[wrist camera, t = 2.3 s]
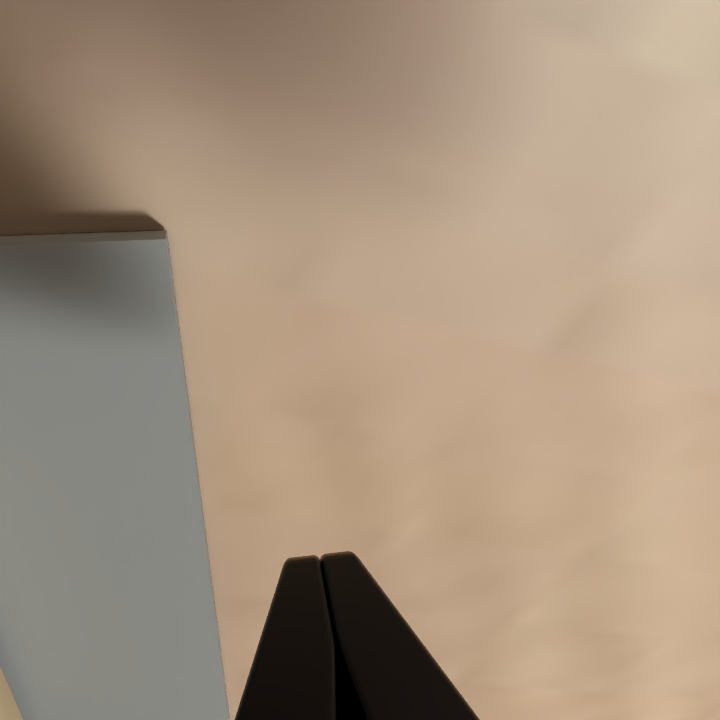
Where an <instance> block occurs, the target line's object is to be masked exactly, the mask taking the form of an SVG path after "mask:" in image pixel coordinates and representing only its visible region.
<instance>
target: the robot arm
mask: <svg viewBox="0 0 720 720" xmlns="http://www.w3.org/2000/svg"><path fill="white" fill-rule="evenodd" d="M235 720H480V719H479V718H478V717H477V715H476V714H475V713H474V711H473V710H472V709H471V707H470V706H469V705H468V703H467V702H466V701H465V699H464V698H463V697H462V695H461V694H460V693H459V691H458V690H457V689H456V687H455V686H454V685H453V683H452V682H451V681H450V679H449V678H448V677H447V675H446V674H445V673H444V671H443V670H442V669H441V667H440V666H439V665H438V663H437V662H436V661H435V659H434V658H433V657H432V655H431V654H430V653H429V651H428V650H427V649H426V647H425V646H424V645H423V643H422V642H421V641H420V639H419V638H418V637H417V635H416V634H415V633H414V631H413V630H412V629H411V627H410V626H409V625H408V623H407V622H406V621H405V619H404V618H403V617H402V615H401V614H400V613H399V611H398V610H397V609H396V607H395V606H394V605H393V603H392V602H391V601H390V599H389V598H388V597H387V595H386V594H385V593H384V591H383V590H382V589H381V587H380V586H379V585H378V583H377V582H376V581H375V579H374V578H373V577H372V575H371V574H370V573H369V571H368V570H367V569H366V567H365V566H364V565H363V563H362V562H361V561H360V559H359V558H358V557H357V556H356V555H355V554H354V553H353V552H349V551H346V552H337V553H329V554H324V555H323V556H321V558H320V559H319V558H318V557H317V556H315V555H311V556H302V557H293V558H289V559H287V560H286V561H285V563H284V565H283V568H282V572H281V575H280V578H279V581H278V584H277V587H276V591H275V594H274V597H273V600H272V603H271V606H270V610H269V613H268V616H267V619H266V622H265V625H264V629H263V632H262V635H261V638H260V641H259V644H258V648H257V651H256V654H255V657H254V660H253V663H252V667H251V670H250V673H249V676H248V679H247V682H246V686H245V689H244V692H243V695H242V698H241V701H240V705H239V708H238V711H237V714H236V717H235Z"/></svg>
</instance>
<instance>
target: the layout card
mask: <svg viewBox="0 0 720 720" xmlns="http://www.w3.org/2000/svg"><path fill="white" fill-rule="evenodd" d="M0 667H1V670H2V672H3V674H4V677H5V679H6V681H7V683H8V686H9V688H10V690H11V693H12V695H13V697H14V700H15V702H16V704H17V707H18V709H19V711H20V714H21V716H22V718H23V720H230V718H229V711H228V703H227V695H226V687H225V680H224V672H223V664H222V656H221V648H220V641H219V633H218V625H217V617H216V610H215V602H214V594H213V586H212V578H211V571H210V563H209V555H208V547H207V539H206V532H205V524H204V516H203V508H202V501H201V493H200V485H199V477H198V469H197V462H196V454H195V446H194V438H193V431H192V423H191V415H190V407H189V399H188V392H187V384H186V376H185V368H184V361H183V353H182V345H181V337H180V329H179V322H178V314H177V306H176V298H175V291H174V283H173V275H172V267H171V259H170V252H169V244H168V236H167V230H165V231H136V232H107V233H78V234H49V235H21V236H0Z"/></svg>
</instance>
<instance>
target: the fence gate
mask: <svg viewBox="0 0 720 720" xmlns="http://www.w3.org/2000/svg"><path fill="white" fill-rule="evenodd" d="M0 720H23V718H22V716H21V714H20V711H19V709H18V707H17V704H16V702H15V700H14V697H13V695H12V693H11V690H10V688H9V686H8V683H7V681H6V679H5V677H4V674H3V672H2V670H1V667H0Z"/></svg>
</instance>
